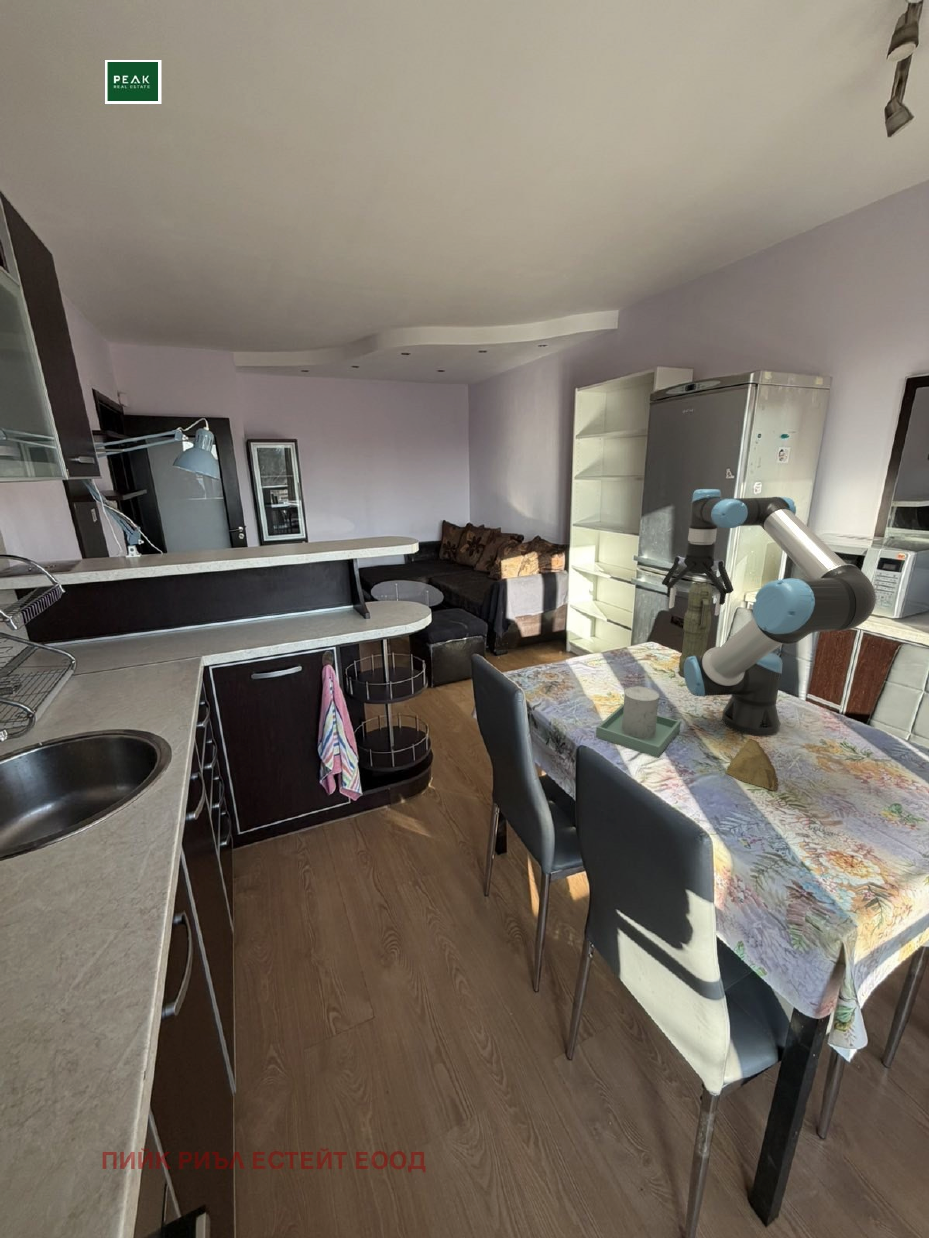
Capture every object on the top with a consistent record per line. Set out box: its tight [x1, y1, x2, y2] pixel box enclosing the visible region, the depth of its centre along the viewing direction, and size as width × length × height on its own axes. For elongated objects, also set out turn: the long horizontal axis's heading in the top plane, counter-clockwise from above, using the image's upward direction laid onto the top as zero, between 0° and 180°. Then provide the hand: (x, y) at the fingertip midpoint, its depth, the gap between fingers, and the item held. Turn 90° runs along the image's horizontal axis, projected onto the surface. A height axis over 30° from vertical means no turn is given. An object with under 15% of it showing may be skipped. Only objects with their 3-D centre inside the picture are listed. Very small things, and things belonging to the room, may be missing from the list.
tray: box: [595, 704, 681, 759], centre depth 149 cm, size 18×18×3 cm
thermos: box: [678, 581, 714, 679], centre depth 183 cm, size 9×12×35 cm
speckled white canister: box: [622, 685, 660, 740], centre depth 147 cm, size 10×10×12 cm
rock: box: [724, 738, 779, 791], centre depth 125 cm, size 11×9×10 cm
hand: (693, 610), depth 158 cm, fingers open, 13 cm apart
